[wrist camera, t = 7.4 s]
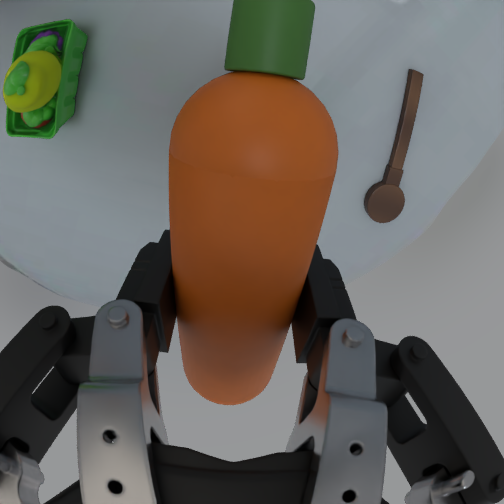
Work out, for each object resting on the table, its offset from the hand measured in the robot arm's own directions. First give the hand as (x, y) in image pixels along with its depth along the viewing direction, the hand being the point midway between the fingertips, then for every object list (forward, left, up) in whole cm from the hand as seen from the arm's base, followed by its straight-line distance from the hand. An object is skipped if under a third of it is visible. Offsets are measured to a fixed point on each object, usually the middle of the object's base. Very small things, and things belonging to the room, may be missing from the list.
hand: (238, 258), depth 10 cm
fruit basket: (-8, -19, -18) cm, 27 cm away
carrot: (0, 0, 0) cm, 0 cm away
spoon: (-2, +16, -18) cm, 24 cm away
